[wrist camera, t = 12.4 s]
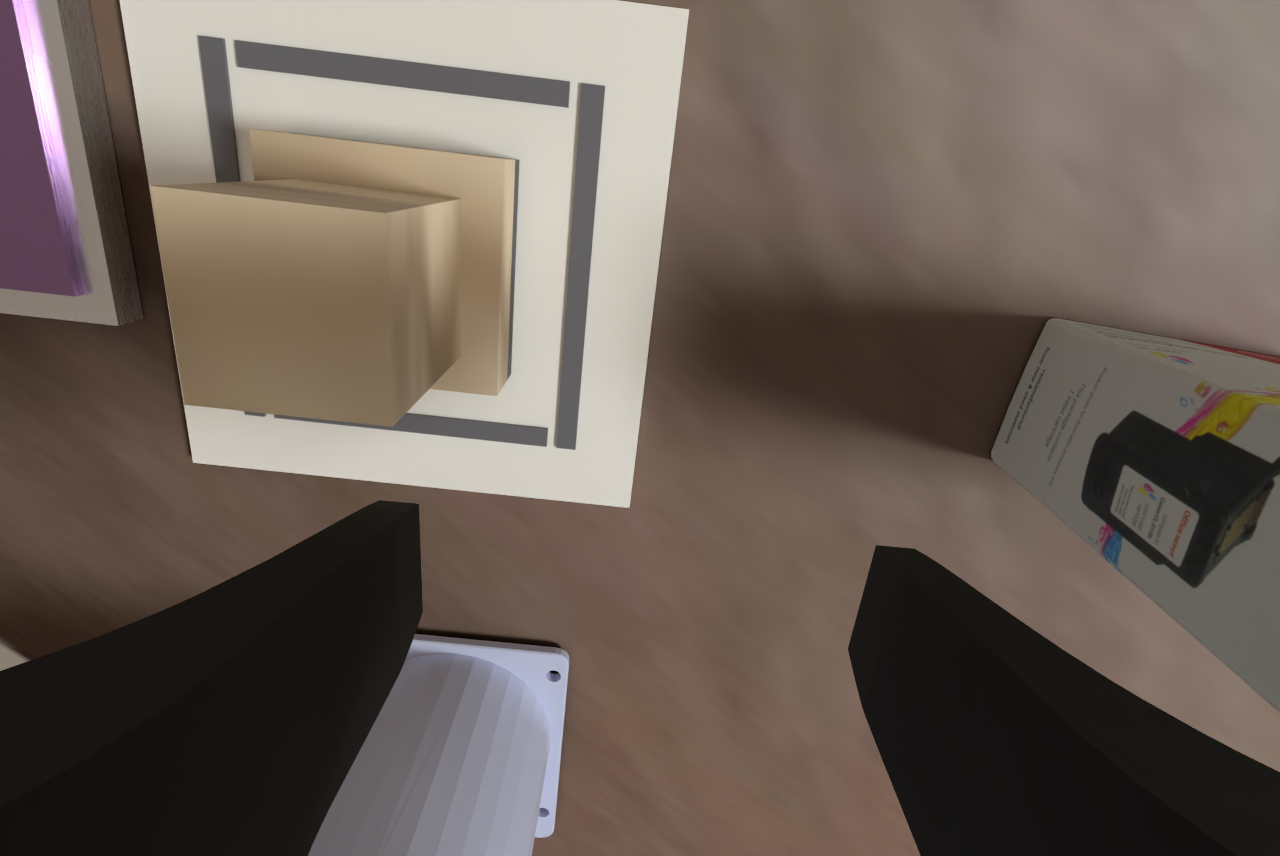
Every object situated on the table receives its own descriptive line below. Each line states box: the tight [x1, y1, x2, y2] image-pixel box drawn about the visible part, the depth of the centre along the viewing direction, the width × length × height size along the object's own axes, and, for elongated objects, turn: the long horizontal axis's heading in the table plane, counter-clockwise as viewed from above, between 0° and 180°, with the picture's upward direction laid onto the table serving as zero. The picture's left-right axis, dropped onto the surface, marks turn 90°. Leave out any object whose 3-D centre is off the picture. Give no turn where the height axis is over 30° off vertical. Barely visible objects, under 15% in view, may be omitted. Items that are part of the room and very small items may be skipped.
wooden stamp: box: [150, 129, 520, 427], centre depth 15 cm, size 6×6×7 cm
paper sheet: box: [120, 0, 689, 508], centre depth 19 cm, size 14×14×1 cm
